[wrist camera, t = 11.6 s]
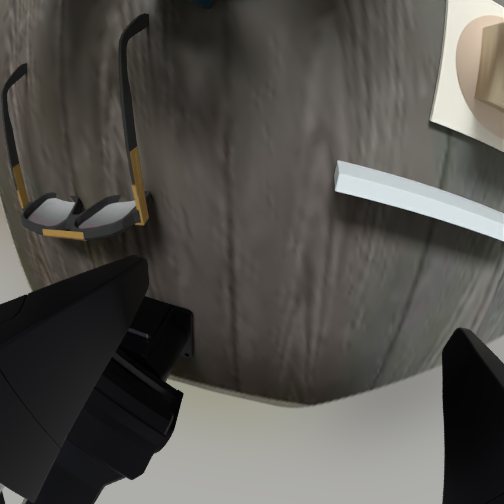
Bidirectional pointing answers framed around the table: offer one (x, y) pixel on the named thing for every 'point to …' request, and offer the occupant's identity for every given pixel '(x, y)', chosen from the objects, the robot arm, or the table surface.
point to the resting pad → (466, 73)
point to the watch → (203, 2)
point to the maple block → (491, 68)
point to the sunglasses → (67, 213)
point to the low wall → (418, 198)
